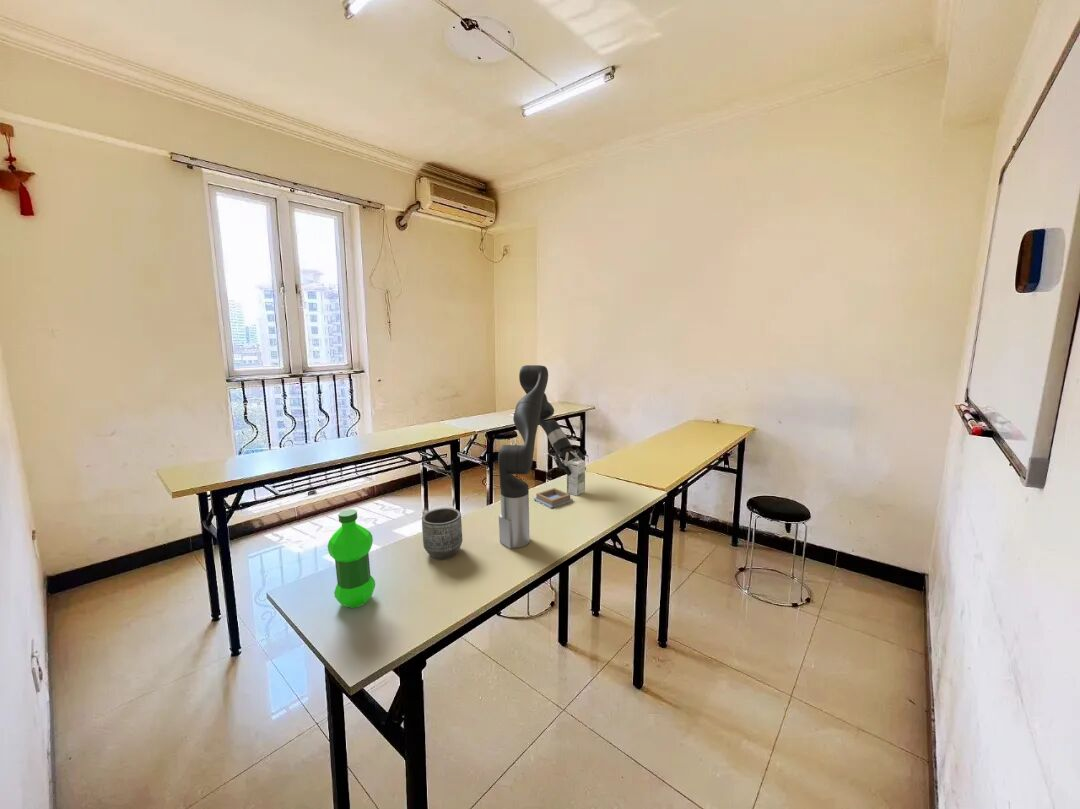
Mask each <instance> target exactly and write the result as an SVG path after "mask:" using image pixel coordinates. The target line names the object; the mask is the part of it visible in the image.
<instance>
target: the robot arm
mask: <svg viewBox="0 0 1080 809" xmlns="http://www.w3.org/2000/svg"><path fill="white" fill-rule="evenodd" d="M518 377H519V378H518V379H519V384H520V386H521V388H522V390H523V391H524V392H525V395H524V396H523V397H521V398H520V399H519V400H518V402H517V403H516V406H515V408H514V413H513V423H514V426H515V428H516V430H517V431H518V432H519V434H520V436H521V438H522V439H523V444H522V445H520V444H519V445H517V444H503V445H502V446H500V447H499V450H498V453H497V455H498V456H497V462H498V475H499V476H498V478H499V487H500V490H499V491H500V515H498V528H499V529H498V531H499V534H498V535H499V543H500V544H502V545H503V546H504V547H506V548H508V550H511V549H518V548H522V547H525V546H527V545H529V543H530V541H531V540H530V539H531V538H530V504H529V503H530V500H529V499H530V497H529V484H528V483H527V482H526V481H524V480H523V479H520V478H517V477H516V476H515V475H526V474H529V473H530V472H531V470H532V467H533V462H534V452H535V443H536V438H537V437H536V436H537V431H538V426H540V427H541V428H542V429H543V431H544V433H545V434H546V436H547V439H548V440H549V442H550V445H551V446H552V448H553V450H554V451H555V455H554V456H553V457H552V459H553V460H554V462H555V464H556V466H557V468H558V469H563V471H564V473H565V474H566V476H567V475H568V476H570V475H571V474H572V473H571V471H570V469H569V467H568V466H567V462H568V461H570V460H573V459H581V460H584V461H586V457H585V456H584V454H583V453H582V451H581V450H580V448H576V449H575V450H574V449H573V446H572V444H571V442H570V441H569V438H568V437H567V435H566V434H565V432H564V431H563V430H562V428H561V426H560V424H559V423H558V421H557V420H556V419H549V420H547V419H548V418H551V417H552V416H553V415H554V414H555V409H554V406H553V405H552V404H551V403H550V402H549V401H548V397H547V394H546V393H545V391H546V388H547V385H548V380H549V371H548V368H547V367H546V366H545V365H537V364H536V365H535V364H534V365H533V364H532V365H531V364H530V365H529V364H527V365H522V366H521V367H520V369H519V374H518ZM586 470H587V466H585V471H586Z"/></svg>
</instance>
